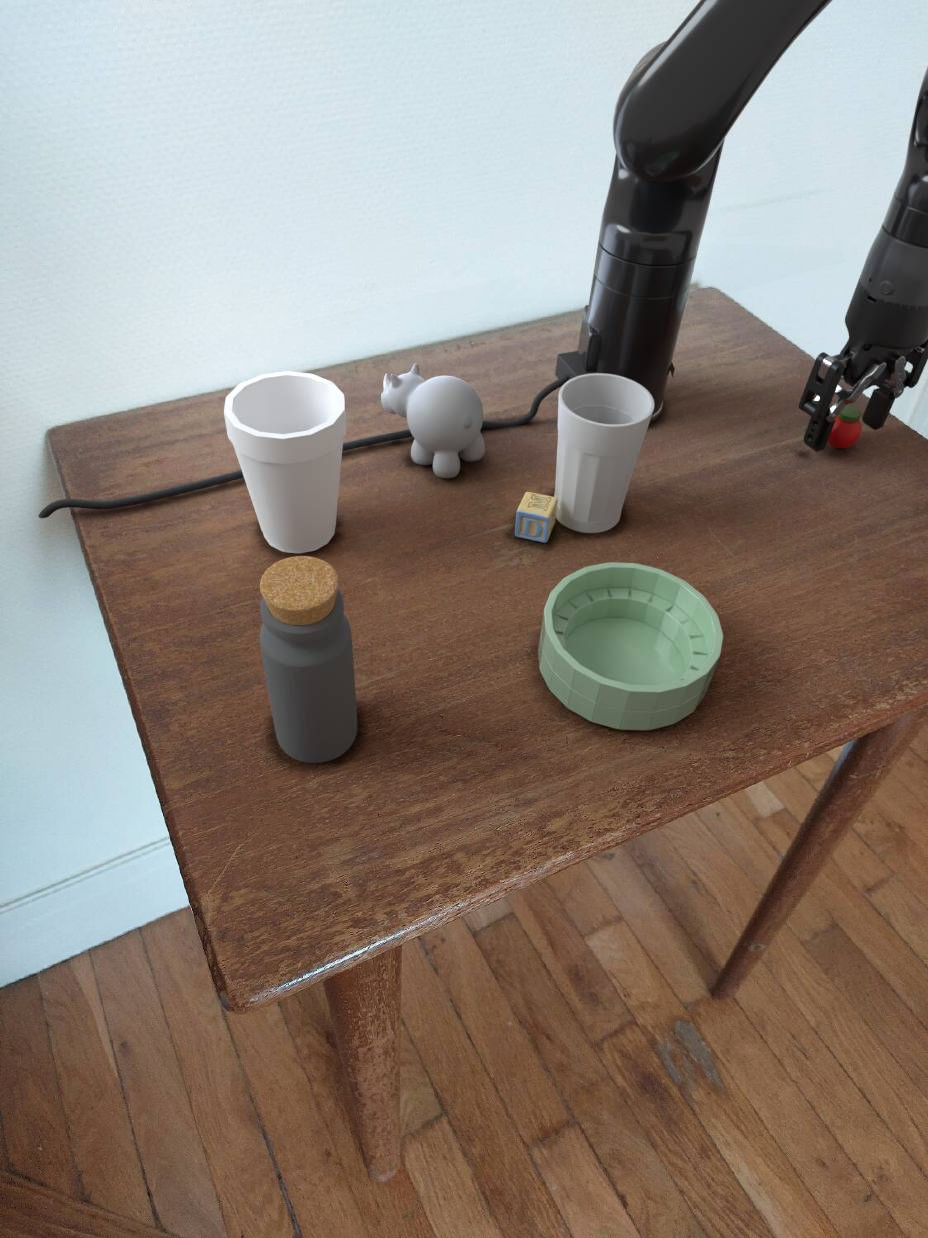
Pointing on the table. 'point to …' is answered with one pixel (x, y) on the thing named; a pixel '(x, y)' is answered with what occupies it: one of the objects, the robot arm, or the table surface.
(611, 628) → the bowl
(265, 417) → the foam cup
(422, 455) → the toy rhinoceros
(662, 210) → the robot arm
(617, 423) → the cup
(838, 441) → the toy tomato
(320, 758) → the bottle
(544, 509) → the alphabet block
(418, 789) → the table surface
